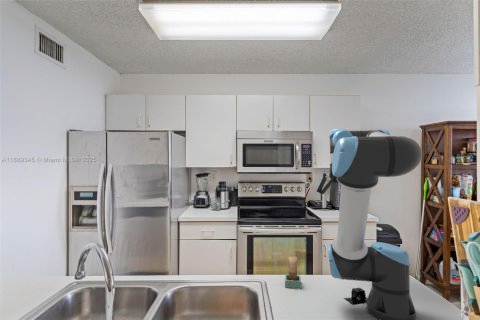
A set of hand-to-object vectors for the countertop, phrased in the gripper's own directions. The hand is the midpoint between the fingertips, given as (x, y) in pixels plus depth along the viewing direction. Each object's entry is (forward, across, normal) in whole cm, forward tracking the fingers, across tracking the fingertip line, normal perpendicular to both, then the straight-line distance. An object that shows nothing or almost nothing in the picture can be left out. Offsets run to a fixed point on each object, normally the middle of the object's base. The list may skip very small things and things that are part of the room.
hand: (338, 209), depth 126 cm
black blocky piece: (+32, -13, +16) cm, 38 cm away
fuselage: (+32, +13, +20) cm, 39 cm away
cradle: (+32, +13, +20) cm, 39 cm away
